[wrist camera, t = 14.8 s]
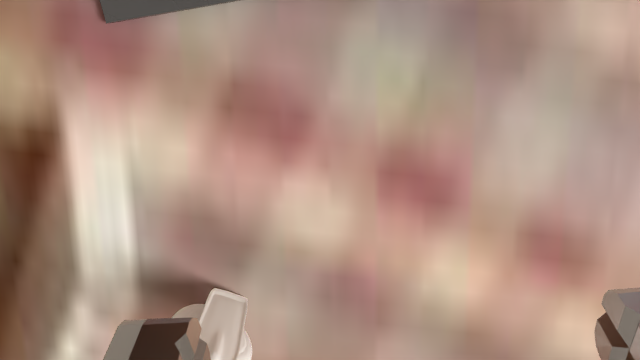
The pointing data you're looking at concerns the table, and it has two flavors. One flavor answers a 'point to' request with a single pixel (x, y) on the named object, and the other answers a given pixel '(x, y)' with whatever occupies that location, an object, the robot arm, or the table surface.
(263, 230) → the table surface
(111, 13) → the grey square stand
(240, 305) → the headset
